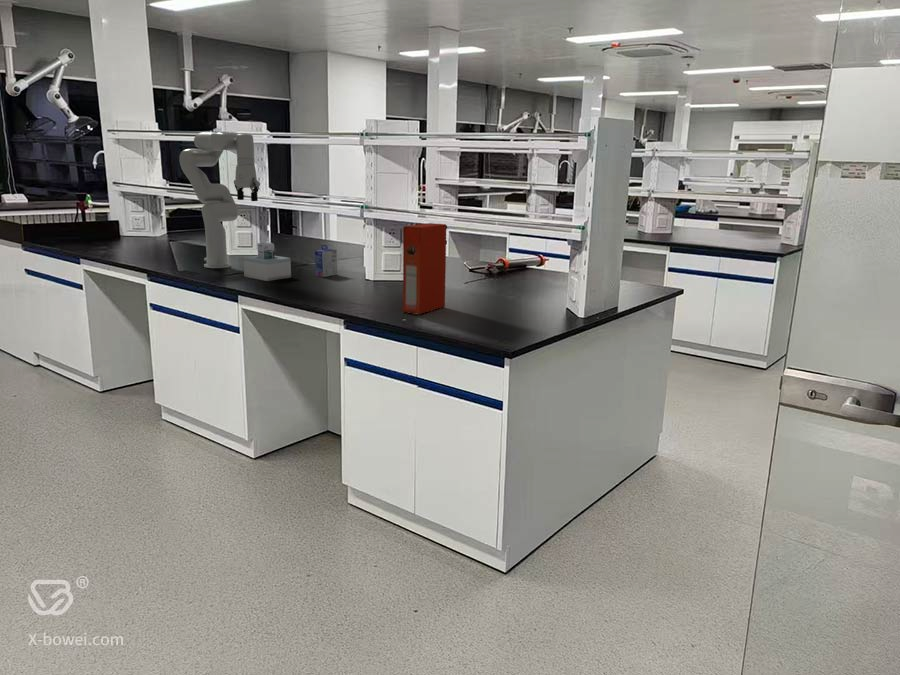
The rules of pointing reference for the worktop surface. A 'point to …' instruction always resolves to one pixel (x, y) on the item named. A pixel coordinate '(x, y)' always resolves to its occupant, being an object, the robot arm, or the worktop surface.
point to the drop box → (267, 268)
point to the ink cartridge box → (326, 262)
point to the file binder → (424, 267)
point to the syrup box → (266, 251)
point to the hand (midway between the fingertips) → (247, 200)
